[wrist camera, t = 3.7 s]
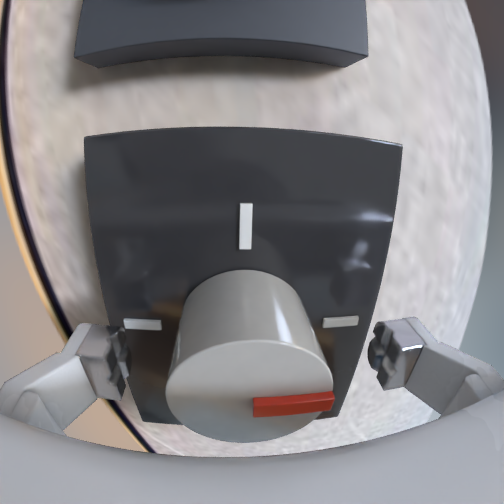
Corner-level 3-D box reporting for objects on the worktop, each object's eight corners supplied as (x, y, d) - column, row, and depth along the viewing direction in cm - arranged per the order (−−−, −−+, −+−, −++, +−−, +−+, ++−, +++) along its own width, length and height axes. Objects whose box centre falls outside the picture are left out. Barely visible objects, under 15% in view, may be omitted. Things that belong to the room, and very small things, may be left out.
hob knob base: (151, 381, 15) (142, 424, 12) (116, 134, 10) (80, 137, 7) (324, 378, 16) (338, 419, 13) (365, 139, 11) (406, 144, 8)
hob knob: (186, 369, 11) (177, 449, 7) (174, 268, 9) (147, 348, 6) (297, 366, 11) (319, 444, 8) (312, 268, 9) (355, 342, 6)
